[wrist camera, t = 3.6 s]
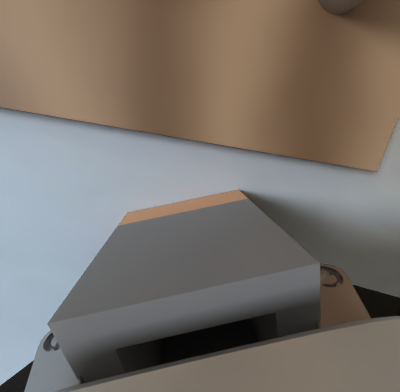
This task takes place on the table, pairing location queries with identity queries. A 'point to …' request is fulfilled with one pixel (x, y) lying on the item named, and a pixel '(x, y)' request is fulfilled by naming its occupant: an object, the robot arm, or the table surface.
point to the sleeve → (186, 288)
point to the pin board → (213, 70)
